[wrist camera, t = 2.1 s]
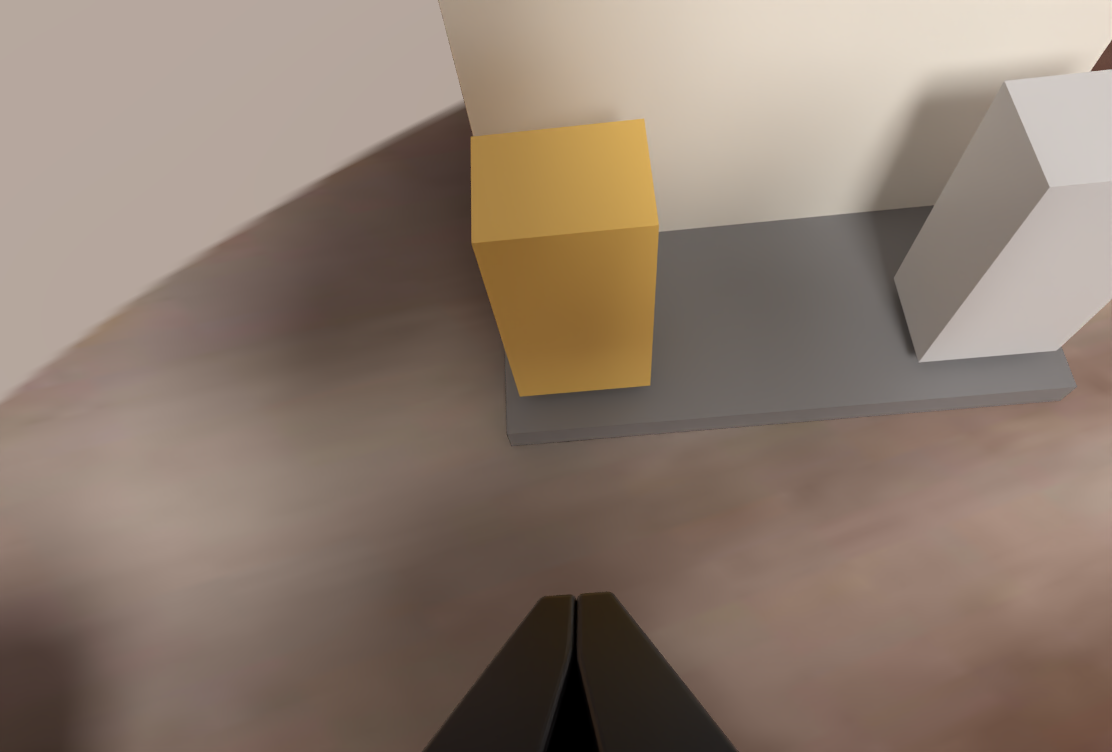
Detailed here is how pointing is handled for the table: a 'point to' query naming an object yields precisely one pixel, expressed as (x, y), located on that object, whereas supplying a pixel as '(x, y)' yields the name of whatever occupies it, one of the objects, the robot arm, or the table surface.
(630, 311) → the amber block
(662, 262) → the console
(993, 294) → the light grey block
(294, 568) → the table surface
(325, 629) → the table surface
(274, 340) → the table surface
